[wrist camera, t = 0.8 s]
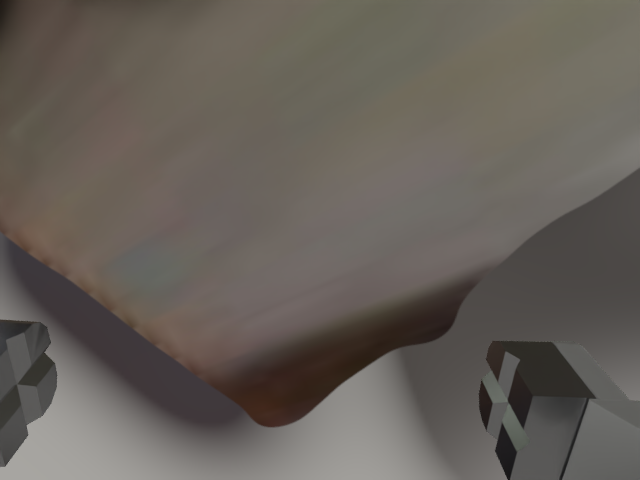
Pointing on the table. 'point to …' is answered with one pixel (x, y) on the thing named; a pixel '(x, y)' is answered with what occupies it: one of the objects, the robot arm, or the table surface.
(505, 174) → the table surface
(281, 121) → the table surface
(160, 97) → the table surface
